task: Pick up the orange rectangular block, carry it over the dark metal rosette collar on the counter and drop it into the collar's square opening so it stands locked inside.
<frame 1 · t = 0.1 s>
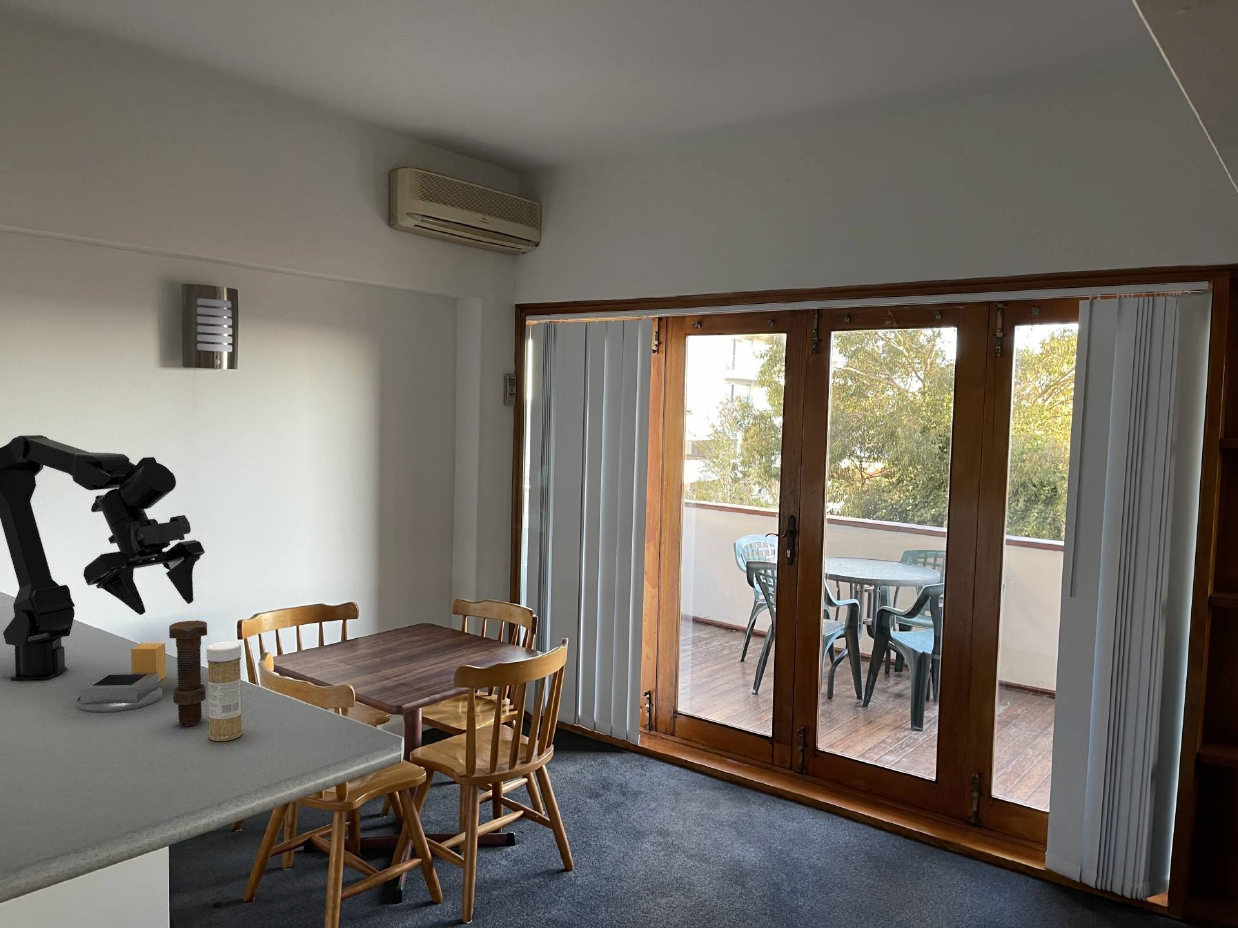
hand: (167, 607, 148), 15 cm above the table, tool tilted 30°, fingers open, 9 cm apart
spice jar: (225, 738, 133), on the table
orange rectangular block: (149, 680, 159), on the table
bolt: (190, 724, 138), on the table
rosette collar: (120, 699, 148), on the table
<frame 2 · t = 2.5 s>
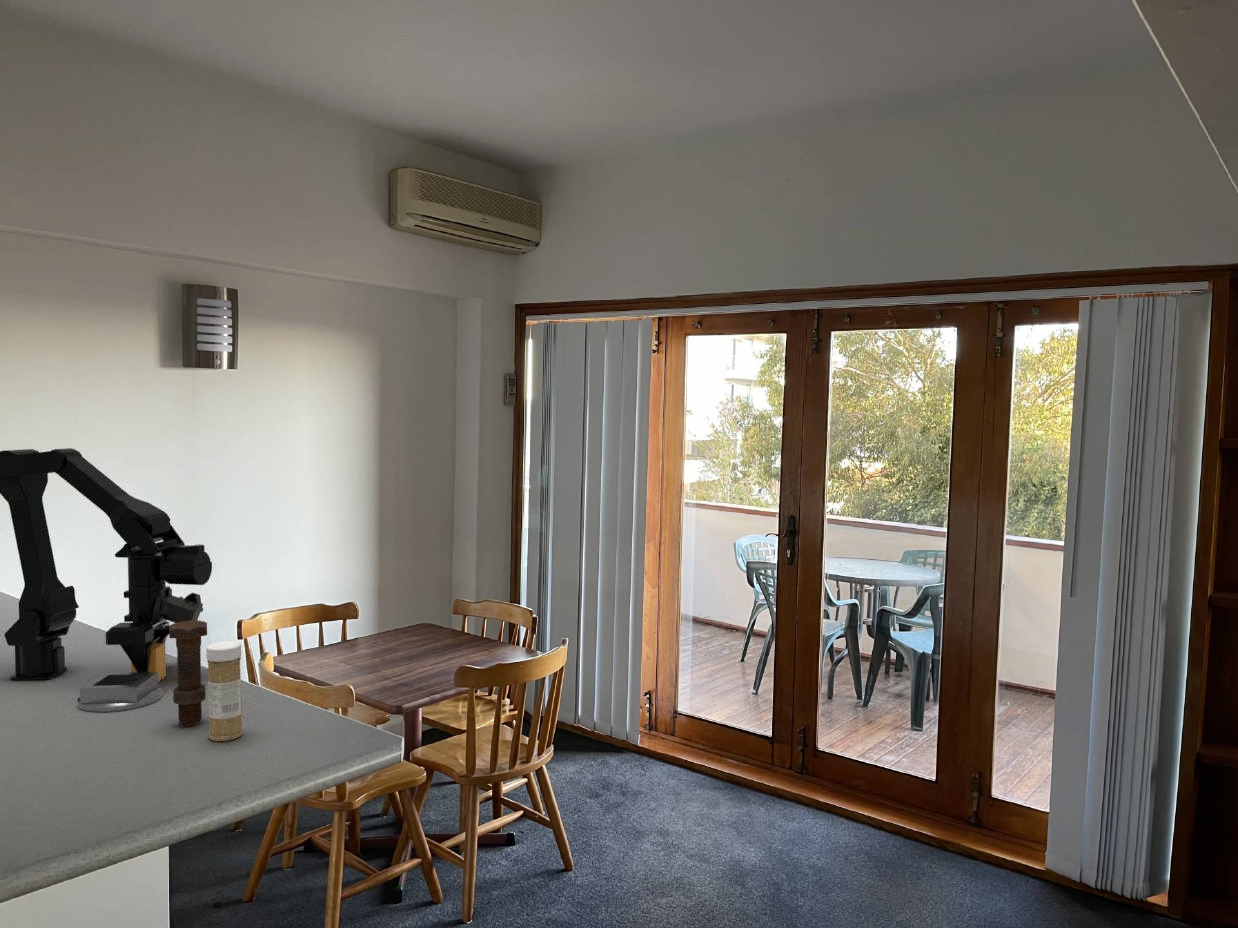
hand: (148, 672, 159), 1 cm above the table, tool pointing down, fingers closed on orange rectangular block, 4 cm apart
orange rectangular block: (149, 680, 159), on the table, touching gripper
everything else where it was.
when the fingers open (4 cm above the table, at t = 6.3 s): orange rectangular block drops 2 cm, resting on rosette collar.
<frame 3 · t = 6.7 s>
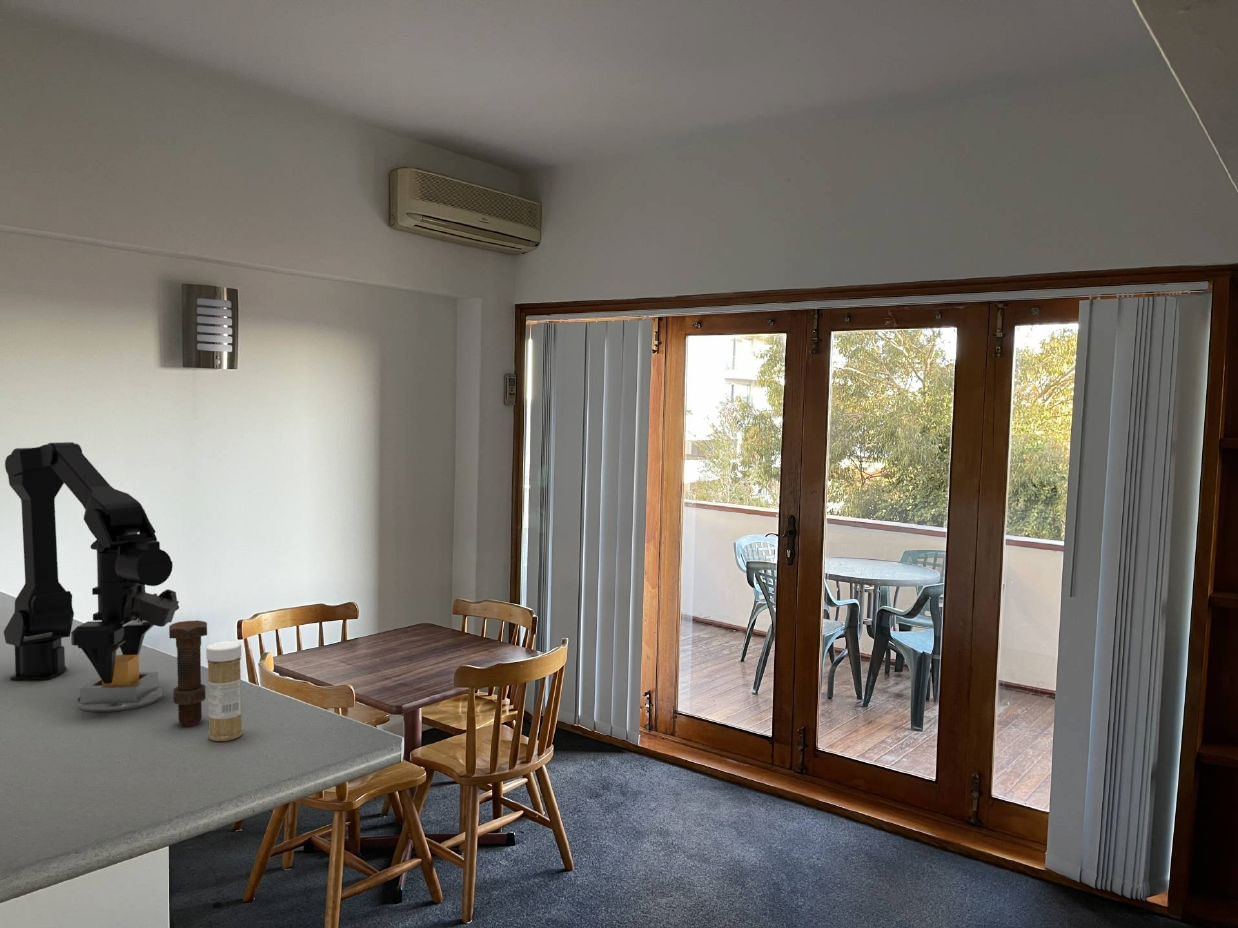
hand: (120, 675, 148), 4 cm above the table, tool pointing down, fingers open, 8 cm apart
orange rectangular block: (121, 695, 148), point 1 cm above the table, touching rosette collar
everything else where it was.
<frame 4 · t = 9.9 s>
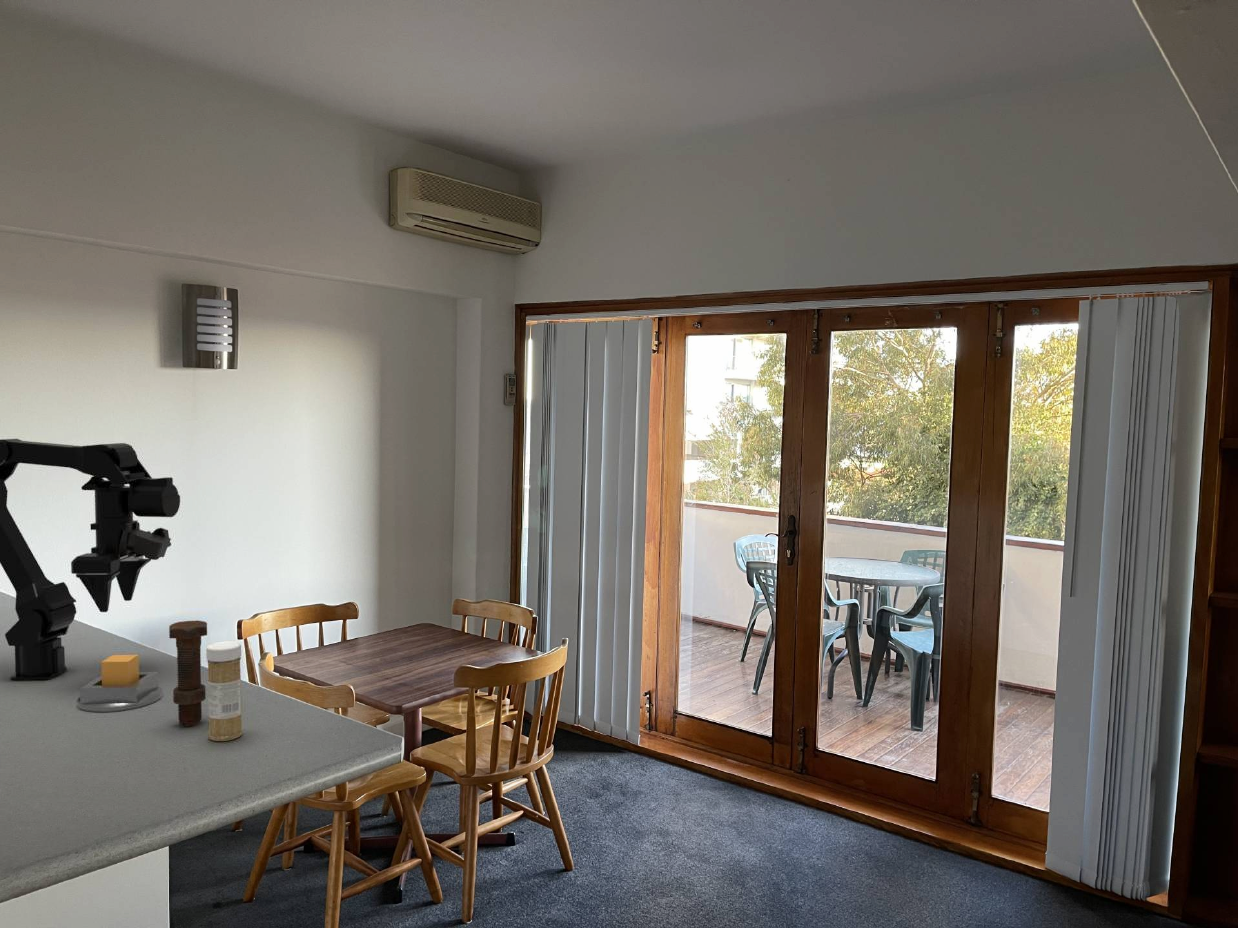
hand: (116, 606, 160), 13 cm above the table, tool pointing down, fingers open, 9 cm apart
nothing on the table moved.
at the end: orange rectangular block 0.1 cm off-centre on the rosette collar, point 0.8 cm above the rosette collar's base; orange rectangular block tilted 0°; the gripper is holding nothing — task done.
